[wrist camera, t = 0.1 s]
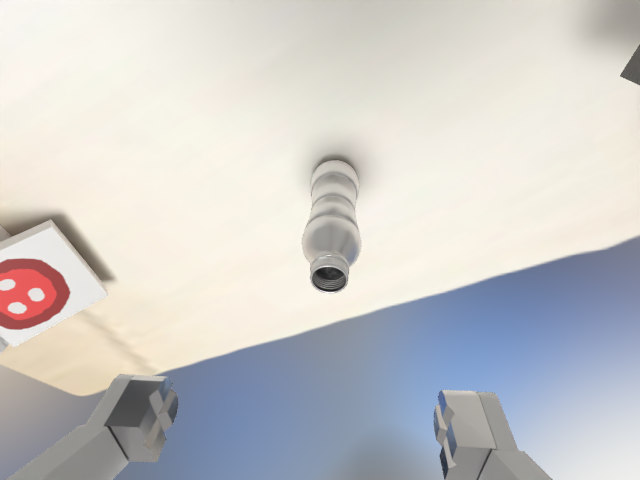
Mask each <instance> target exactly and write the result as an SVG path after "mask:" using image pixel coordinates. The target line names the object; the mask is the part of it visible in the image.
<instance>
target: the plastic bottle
mask: <svg viewBox="0 0 640 480" xmlns="http://www.w3.org/2000/svg"><path fill="white" fill-rule="evenodd" d="M310 189H311V196H312V209H311V213H310V218H309V220H308V223H307V225H306V228H305V230H304V233H303V237H302V249H303V252H304V255H305V257H306V259H307V260H308V262H309V263H310V264H311V269H310V270H311V276H310V278H311V283H312V285H313V286H314V287H315V288H316V289H317V290H319V291H321V292H324V293H336V292H339V291H341V290H343V289H344V288H345V287H346V285H347V282H348V274H349V267H350V266H352V265H353V264H354V263H355V261H356V260H357V258H358V256H359V253H360V251H361V238H360V233H359V230H358V226H357V222H356V214H355V206H356V200H357V197H358V192H359V181H358V177H357V175H356V173H355V171H354V169H353V168H352V167H351V166H350V165H349V164H347V163H345V162H343V161H339V160H330V161H326V162H324V163H322V164H321V165H319V166H318V168H317V169H316V170H315V172H314V174H313V176H312V178H311V182H310Z"/></svg>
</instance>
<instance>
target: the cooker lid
mask: <svg viewBox="0 0 640 480" xmlns="http://www.w3.org/2000/svg"><path fill="white" fill-rule="evenodd" d="M620 76H621V77H623V78H625V79H627V80H630V81H632V82H634V83H636V84H638V85H640V45H639V46H638V48H637V50H636V51H635V53H634V54H633V56H632V58H631V59H630V61H629V62H628V64H627V65H626V67H625V69H624V70H623V72H622V73H621V75H620Z"/></svg>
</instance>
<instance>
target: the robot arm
mask: <svg viewBox="0 0 640 480" xmlns="http://www.w3.org/2000/svg"><path fill="white" fill-rule="evenodd" d="M172 384H173V383H172V381H171V379H170V377H160V376H143V375H128V374H119V375H118V376H117V377H116V378H115V379H114V380H113V382H112V383H111V385H110V386H109V388H108V390H107V391H106V393H105V394H104V396H103V398H102V399H101V401H100V402H99V404H98V405H97V407H96V409H95V410H94V412H93V413H92V415H91V416H90V418H89V420H88V421H87V423H86V424H85V425H80V426H78V427H77V428H75V429H74V430H73V431H71V432H70V433H69V434H67V435H66V436H65V437H63V438H62V439H60V440H59V441H58V442H56V443H55V444H54V445H52V446H51V447H50V448H48V449H47V450H46V451H44V452H43V453H41V454H40V455H39V456H37V457H36V458H35V459H33V460H32V461H31V462H29V463H28V464H27V465H25V466H24V467H22V468H21V469H20V470H18V471H17V472H16V473H14V474H13V475H12V476H10V477H9V478H7V479H6V480H112V479H113V478H114V477H115V476H116V475H117V474H118V473H119V472H120V471H121V470H122V469H123V468H124V467H125V466H126V465H127V464H128V463H129V462H128V461H141V462H157V460H158V458H159V455H160V453H161V451H162V448H163V446H164V444H165V441H166V436H165V431H166V430H167V429H168V428H169V427H170V426H171V425H173V422H174V419H175V417H176V414H177V409H178V397H177V394H176V392H174V391H173V390H172V389H171V387H172ZM438 400H439V404H438V405H437V406H436V407H435V411H434V429H435V435H436V440H437V441H438V442H439V443H440V445H441V446H442V449H441V453H440V460H441V465H442V470H443V475H444V479H445V480H552V479H551V478H550V477H549V476H548V475H547V474H546V473H545V472H544V471H543V470H542V469H541V468H540V467H539V466H538V465H537V464H536V463H535V462H534V461H533V460H532V459H531V458H530V457H529V456H528V455H527V454H526V453H525V452H524V451H519V450H518V448H517V445H516V443H515V440H514V438H513V435H512V432H511V430H510V427H509V425H508V422H507V420H506V417H505V414H504V412H503V409H502V406H501V404H500V401H499V399H498V396H497V395H496V394H495V393H493V392H475V391H454V390H441V391H440V392H439V395H438Z"/></svg>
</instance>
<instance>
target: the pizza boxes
mask: <svg viewBox="0 0 640 480" xmlns="http://www.w3.org/2000/svg"><path fill="white" fill-rule="evenodd" d="M106 296H108V293H107V289H106V286H105V285H104V284H103V283H102V281H101V280H100V279H99V278H98V276H97V275H96V274H95V273H94V272H93V270H92V269H91V268H90V267H89V265H88V264H87V263H86V262H85V261H84V259H83V258H82V257H81V256H80V254H79V253H78V252H77V251H76V249H75V248H74V247H73V246H72V245H71V243H70V242H69V241H68V240H67V238H66V237H65V236H64V235H63V233H62V232H61V231H60V230H59V229H58V227H57V226H56V225H55V224H54V222H53V221H52V220H51V219H50V220H48V221H46V222H44V223H42V224H39V225H37V226H35V227H33V228H31V229H28V230H26V231H24V232H22V233H19V234H17V235H15V236H13V237H12V236H11V235H10V234H9V233H8V232H7V231H6V230H5V229H4V228H3V227H2V226H1V225H0V354H1V353H2V352H3V351H4V350H5V348H6V347H7V346H8V345H9V344H11V345H12V346H13V347H16V346H18V345H19V344H21V343H23V342H25V341H27V340H28V339H30V338H32V337H34V336H36V335H38V334H39V333H41V332H43V331H45V330H47V329H48V328H50V327H52V326H54V325H56V324H57V323H59V322H61V321H63V320H65V319H66V318H68V317H70V316H72V315H74V314H75V313H77V312H79V311H81V310H83V309H84V308H86V307H88V306H90V305H92V304H94V303H95V302H97V301H99V300H101V299H103V298H104V297H106Z"/></svg>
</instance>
